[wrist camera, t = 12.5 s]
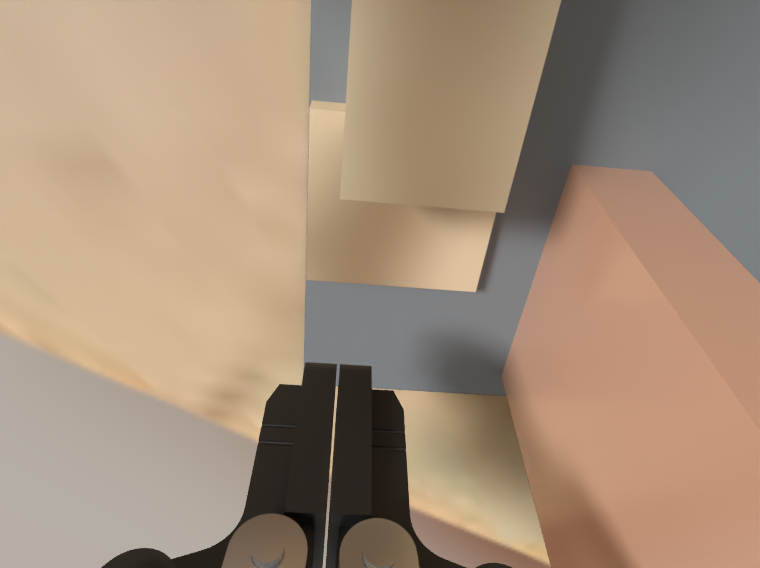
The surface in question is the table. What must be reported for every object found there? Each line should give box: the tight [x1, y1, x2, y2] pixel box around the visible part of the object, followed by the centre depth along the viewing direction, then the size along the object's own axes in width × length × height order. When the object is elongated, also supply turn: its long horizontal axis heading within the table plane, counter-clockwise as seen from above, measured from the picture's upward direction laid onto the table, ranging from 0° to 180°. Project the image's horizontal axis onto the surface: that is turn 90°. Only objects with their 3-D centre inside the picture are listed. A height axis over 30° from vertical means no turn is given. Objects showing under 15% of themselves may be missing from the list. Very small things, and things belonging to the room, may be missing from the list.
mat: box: [304, 0, 760, 396], centre depth 14 cm, size 22×19×1 cm
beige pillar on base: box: [306, 0, 561, 292], centre depth 10 cm, size 5×14×4 cm, turn 174°
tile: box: [501, 164, 760, 568], centre depth 13 cm, size 2×8×10 cm, turn 174°
